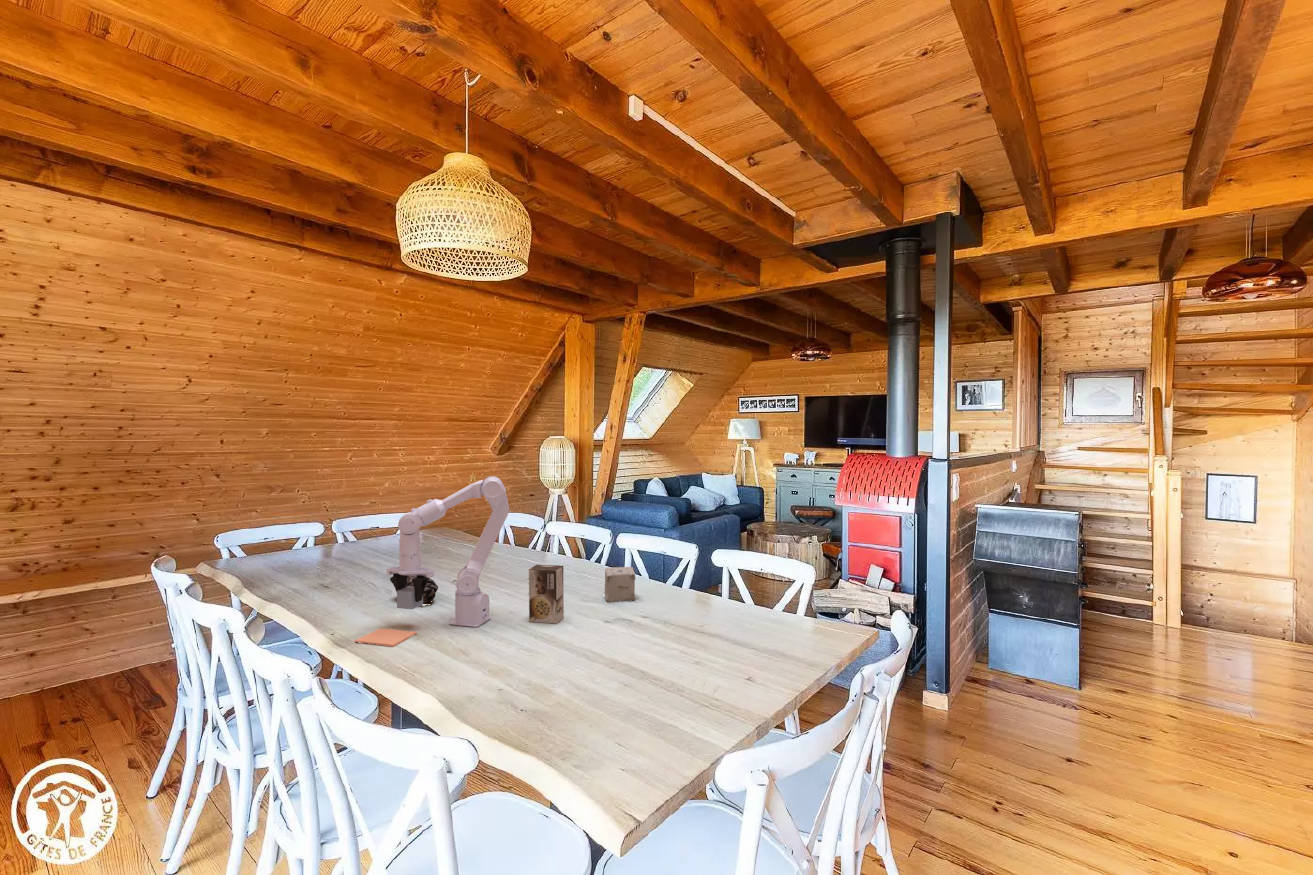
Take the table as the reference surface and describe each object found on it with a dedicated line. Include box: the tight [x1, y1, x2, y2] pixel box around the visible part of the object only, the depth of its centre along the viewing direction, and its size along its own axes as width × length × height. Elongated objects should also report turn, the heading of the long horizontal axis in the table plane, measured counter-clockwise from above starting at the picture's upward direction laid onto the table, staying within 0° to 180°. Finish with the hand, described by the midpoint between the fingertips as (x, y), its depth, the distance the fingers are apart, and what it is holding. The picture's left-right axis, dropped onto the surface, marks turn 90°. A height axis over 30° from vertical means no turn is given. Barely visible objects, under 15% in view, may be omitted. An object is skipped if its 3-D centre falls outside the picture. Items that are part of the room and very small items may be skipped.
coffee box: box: [528, 564, 565, 624], centre depth 178 cm, size 9×6×16 cm
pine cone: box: [406, 576, 439, 605], centre depth 197 cm, size 10×18×10 cm, turn 59°
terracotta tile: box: [354, 627, 418, 648], centre depth 162 cm, size 12×10×1 cm
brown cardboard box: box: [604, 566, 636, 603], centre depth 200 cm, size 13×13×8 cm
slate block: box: [396, 586, 423, 610], centre depth 171 cm, size 5×5×5 cm
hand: (410, 600), depth 171 cm, fingers closed on slate block, 5 cm apart
